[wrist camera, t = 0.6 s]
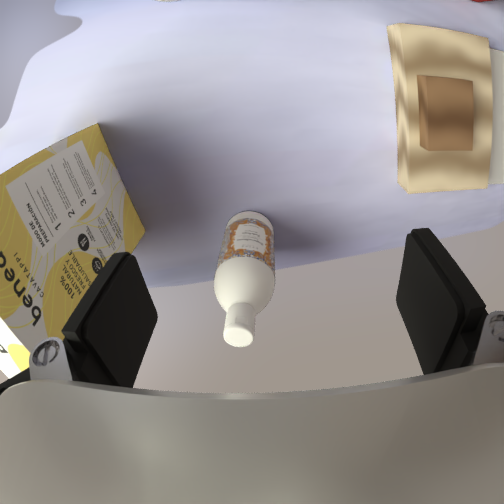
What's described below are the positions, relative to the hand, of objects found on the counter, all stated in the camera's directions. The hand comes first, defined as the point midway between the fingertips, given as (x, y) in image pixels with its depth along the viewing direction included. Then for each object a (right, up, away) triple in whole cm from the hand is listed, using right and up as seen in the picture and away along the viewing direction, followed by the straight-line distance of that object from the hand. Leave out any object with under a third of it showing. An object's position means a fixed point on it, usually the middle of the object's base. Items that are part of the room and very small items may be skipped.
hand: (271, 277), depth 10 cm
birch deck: (+25, +20, +22) cm, 39 cm away
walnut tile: (+23, +18, +19) cm, 35 cm away
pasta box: (-24, +10, +32) cm, 42 cm away
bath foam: (-1, +4, +35) cm, 35 cm away
